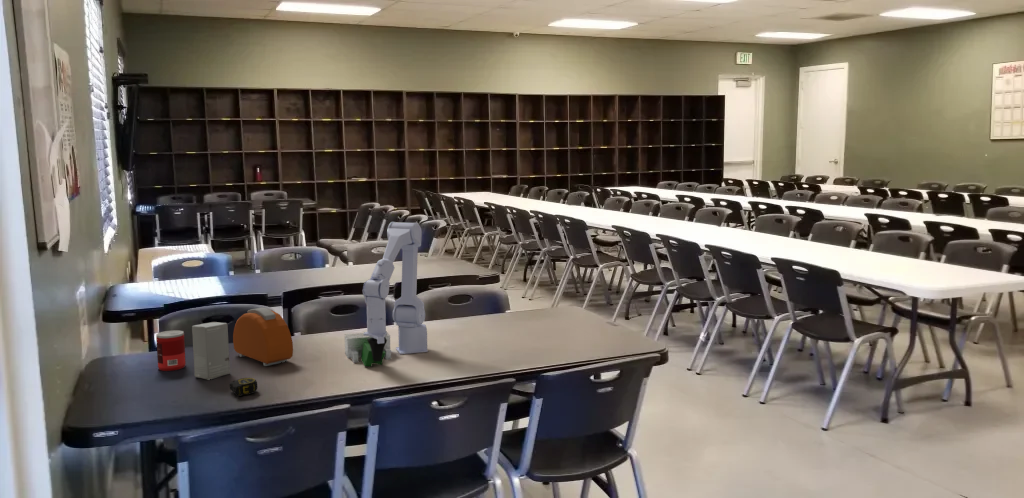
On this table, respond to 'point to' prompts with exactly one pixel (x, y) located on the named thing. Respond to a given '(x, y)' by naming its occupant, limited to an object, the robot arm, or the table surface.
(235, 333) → the orange toaster
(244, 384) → the tape measure
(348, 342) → the motor housing
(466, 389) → the table surface
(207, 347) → the skincare box
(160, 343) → the canned food
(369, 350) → the clamp
